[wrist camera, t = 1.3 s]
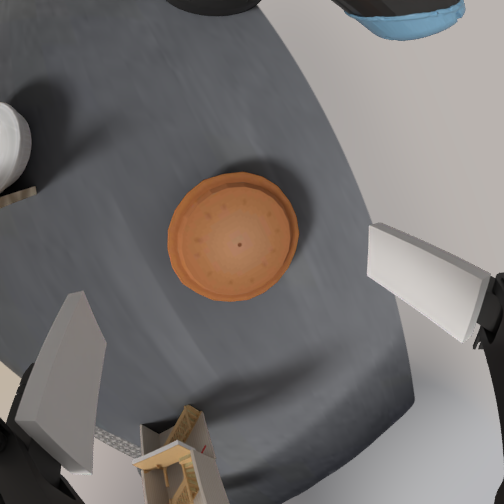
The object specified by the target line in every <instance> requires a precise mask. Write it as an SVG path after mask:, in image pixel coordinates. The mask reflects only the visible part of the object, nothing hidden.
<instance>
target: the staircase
mask: <svg viewBox="0 0 504 504" xmlns="http://www.w3.org/2000/svg"><path fill="white" fill-rule="evenodd" d="M140 437H141V448H140V451H141V456H139V457H137V459H134V460H133V461H132V463H133V465H134V466H136V467H138V468H141V469H143V470H141V475H142V484H143V492H144V499H145V504H229V501H228V498H227V495H226V492H225V489H224V486H223V483H222V480H221V477H220V474H219V471H218V468H217V465H216V461H215V459H216V456H215V452H214V449H213V446H212V442H211V439H210V435H209V432H208V428H207V424H206V421H205V417H204V413H203V412H202V411H198V410H197V409H195V408H194V407H192V406H191V405H186V406H184V410H183V412H182V413H181V415H180V417H179V419H178V421H177V422H176V424H175V426H173V427H172V428H170V429H168V430H166V431H164V432H162V433H160V434H158V433H156V432H154V431H152V430H151V429H149V428H147V427H145V426H144V425H142V424H141V425H140Z"/></svg>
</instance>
